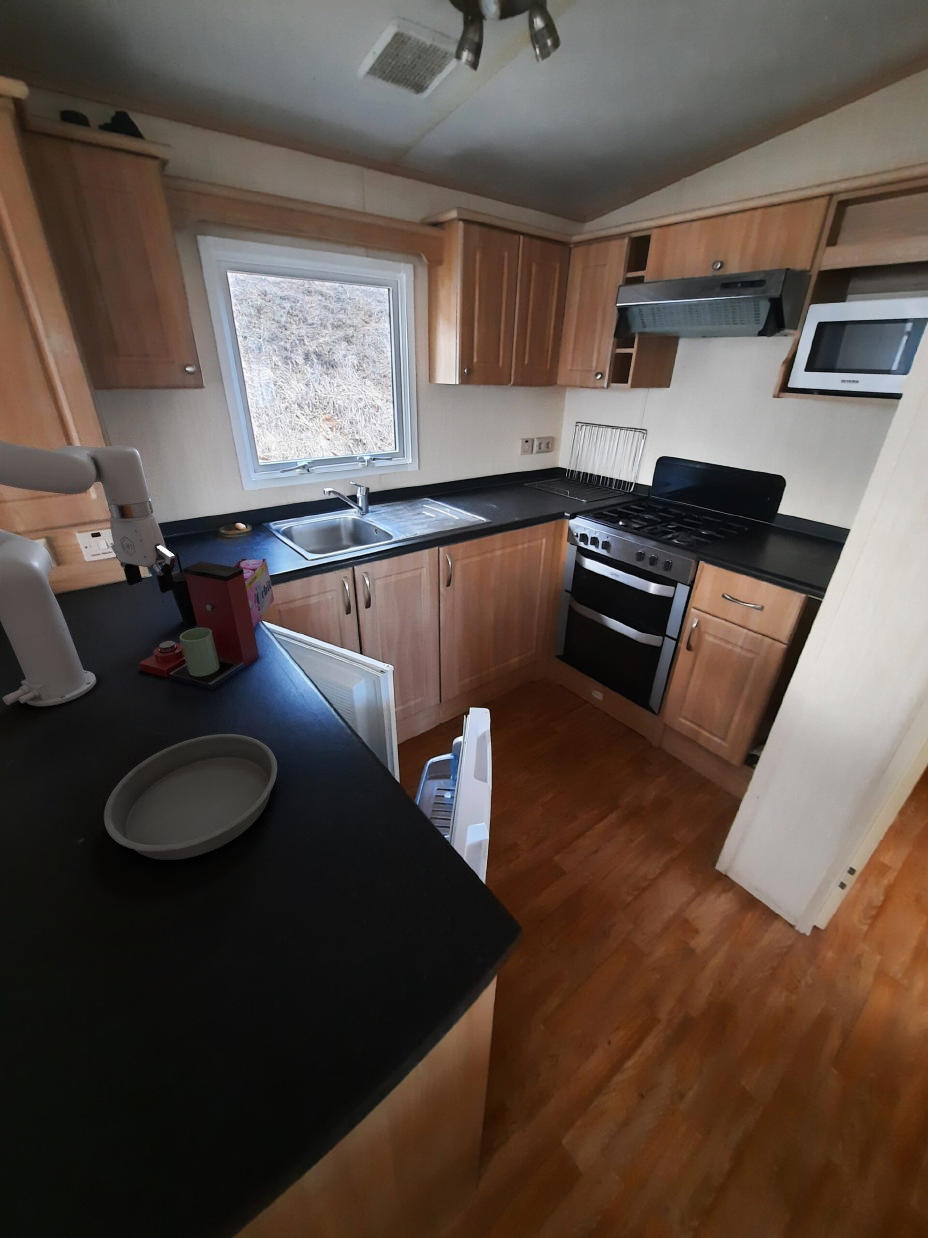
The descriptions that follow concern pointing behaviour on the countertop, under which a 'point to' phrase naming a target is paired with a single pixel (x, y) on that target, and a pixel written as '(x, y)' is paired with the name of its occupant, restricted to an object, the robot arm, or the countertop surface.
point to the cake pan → (192, 796)
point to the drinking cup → (183, 596)
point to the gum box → (257, 586)
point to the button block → (164, 661)
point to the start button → (167, 647)
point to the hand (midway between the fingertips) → (151, 586)
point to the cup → (199, 651)
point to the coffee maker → (221, 620)
